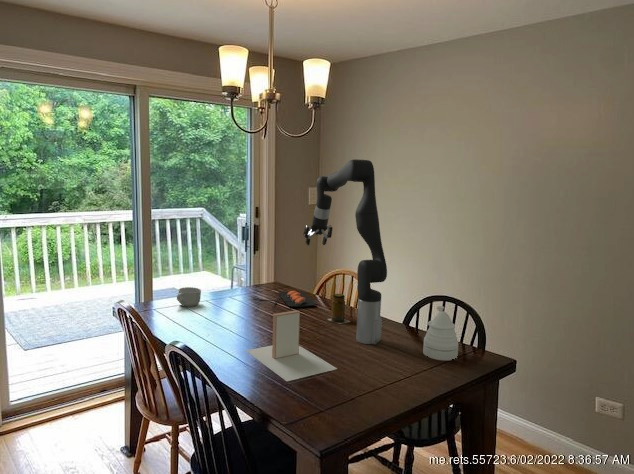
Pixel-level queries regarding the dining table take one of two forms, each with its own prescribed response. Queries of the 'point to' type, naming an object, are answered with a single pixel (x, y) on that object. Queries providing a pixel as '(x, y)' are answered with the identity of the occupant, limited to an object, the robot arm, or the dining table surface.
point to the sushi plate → (294, 299)
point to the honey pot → (441, 338)
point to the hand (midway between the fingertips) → (315, 244)
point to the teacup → (189, 296)
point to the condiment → (338, 309)
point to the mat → (292, 363)
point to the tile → (285, 334)
